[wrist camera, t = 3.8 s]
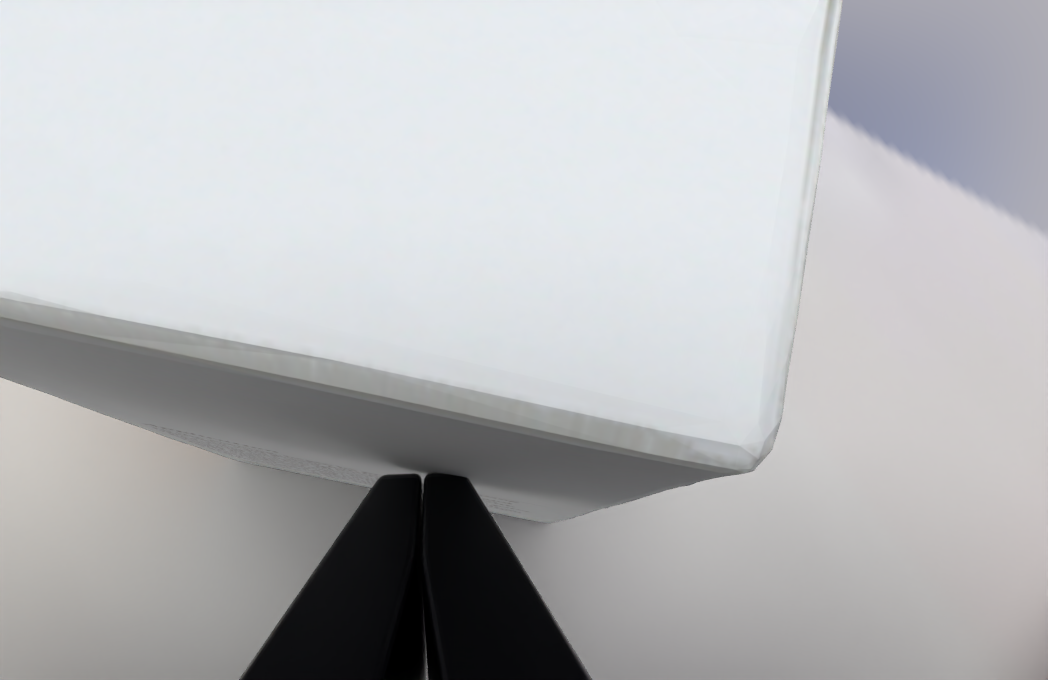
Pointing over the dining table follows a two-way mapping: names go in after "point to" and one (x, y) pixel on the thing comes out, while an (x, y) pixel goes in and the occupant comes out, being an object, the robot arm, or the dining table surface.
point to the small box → (418, 231)
